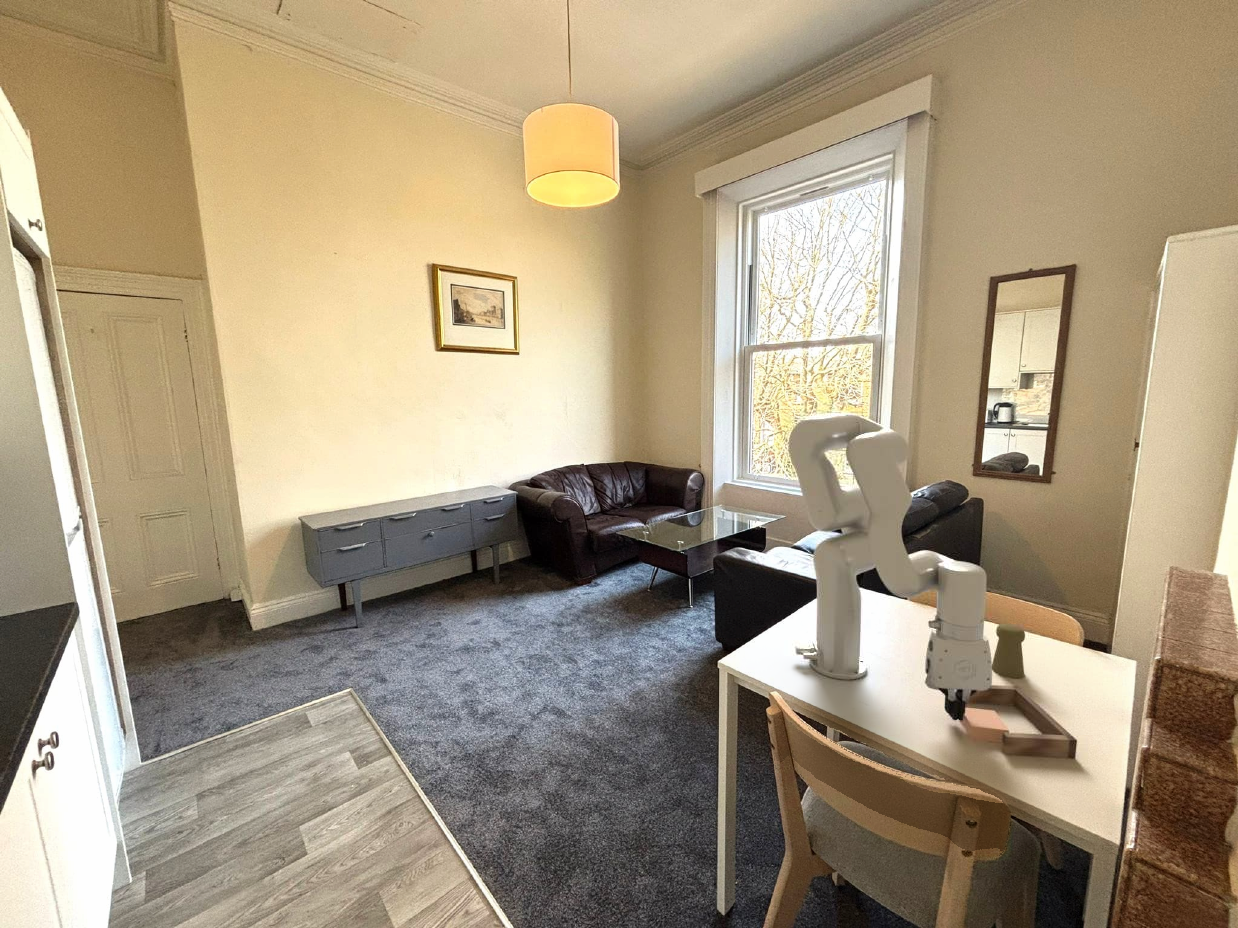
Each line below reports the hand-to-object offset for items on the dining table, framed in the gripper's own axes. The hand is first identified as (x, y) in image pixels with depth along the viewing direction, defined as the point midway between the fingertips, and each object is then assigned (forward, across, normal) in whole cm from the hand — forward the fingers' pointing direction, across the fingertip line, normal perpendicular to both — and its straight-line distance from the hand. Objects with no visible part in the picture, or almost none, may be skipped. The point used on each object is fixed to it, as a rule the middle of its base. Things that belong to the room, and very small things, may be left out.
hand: (954, 715), depth 100 cm
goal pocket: (+2, +10, 0) cm, 10 cm away
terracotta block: (+2, +4, -2) cm, 5 cm away
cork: (+2, +20, +20) cm, 29 cm away
